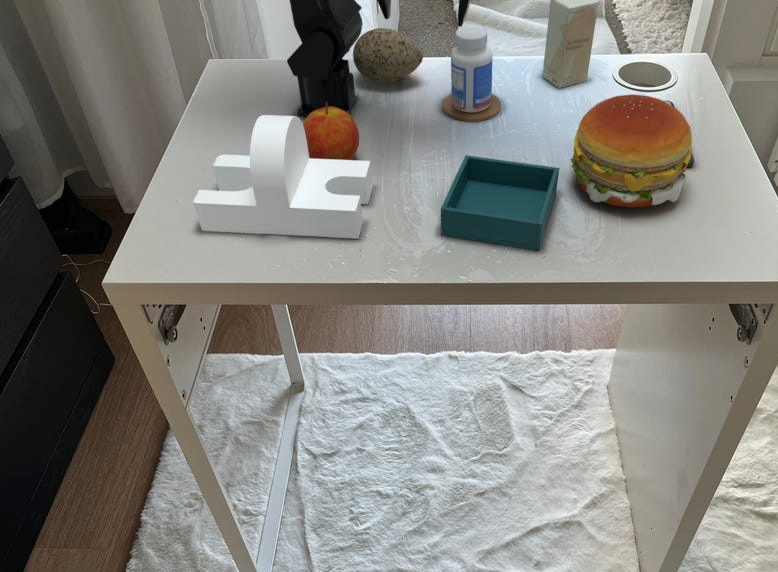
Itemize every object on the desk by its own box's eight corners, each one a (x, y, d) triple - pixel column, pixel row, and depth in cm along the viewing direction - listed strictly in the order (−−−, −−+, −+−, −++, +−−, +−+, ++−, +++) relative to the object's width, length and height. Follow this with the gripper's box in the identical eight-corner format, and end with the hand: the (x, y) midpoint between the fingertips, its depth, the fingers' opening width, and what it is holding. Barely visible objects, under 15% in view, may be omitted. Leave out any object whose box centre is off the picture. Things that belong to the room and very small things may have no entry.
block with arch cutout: (372, 188, 91) (365, 101, 83) (358, 239, 85) (349, 150, 77) (225, 181, 93) (204, 95, 85) (200, 230, 86) (174, 142, 78)
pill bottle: (492, 94, 106) (495, 23, 99) (490, 114, 102) (493, 41, 95) (452, 93, 106) (452, 22, 99) (449, 113, 103) (449, 40, 95)
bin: (440, 235, 85) (440, 208, 82) (465, 180, 92) (465, 154, 90) (539, 250, 83) (542, 224, 80) (556, 193, 90) (559, 167, 87)
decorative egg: (344, 28, 104) (415, 31, 102) (361, 25, 110) (429, 27, 108) (346, 84, 107) (415, 87, 105) (363, 78, 113) (428, 81, 111)
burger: (614, 139, 97) (628, 64, 90) (707, 183, 91) (730, 105, 83) (545, 183, 91) (552, 106, 84) (638, 234, 85) (656, 155, 77)
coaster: (435, 117, 103) (435, 114, 102) (450, 89, 108) (450, 86, 108) (493, 125, 101) (494, 122, 101) (506, 96, 106) (506, 93, 106)
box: (558, 89, 107) (566, 8, 99) (541, 76, 110) (548, -4, 102) (589, 80, 109) (600, 0, 101) (571, 68, 112) (581, -11, 104)
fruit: (352, 181, 92) (345, 121, 87) (297, 175, 94) (287, 115, 88) (368, 151, 97) (363, 91, 91) (315, 145, 98) (307, 86, 92)
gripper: (309, -110, 78) (327, 42, 89) (489, -98, 74) (484, 59, 86) (347, -140, 85) (359, 4, 97) (512, -130, 82) (505, 18, 93)
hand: (423, 21), depth 93 cm, fingers open, 9 cm apart
